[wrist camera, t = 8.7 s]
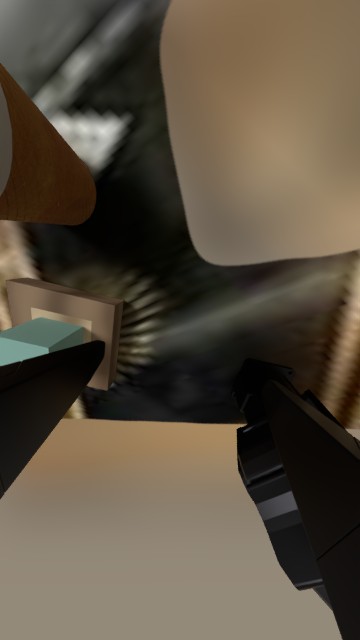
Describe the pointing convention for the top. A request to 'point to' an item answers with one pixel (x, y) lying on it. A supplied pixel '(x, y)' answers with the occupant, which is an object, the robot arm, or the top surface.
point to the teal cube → (37, 339)
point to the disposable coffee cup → (38, 165)
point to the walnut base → (72, 317)
